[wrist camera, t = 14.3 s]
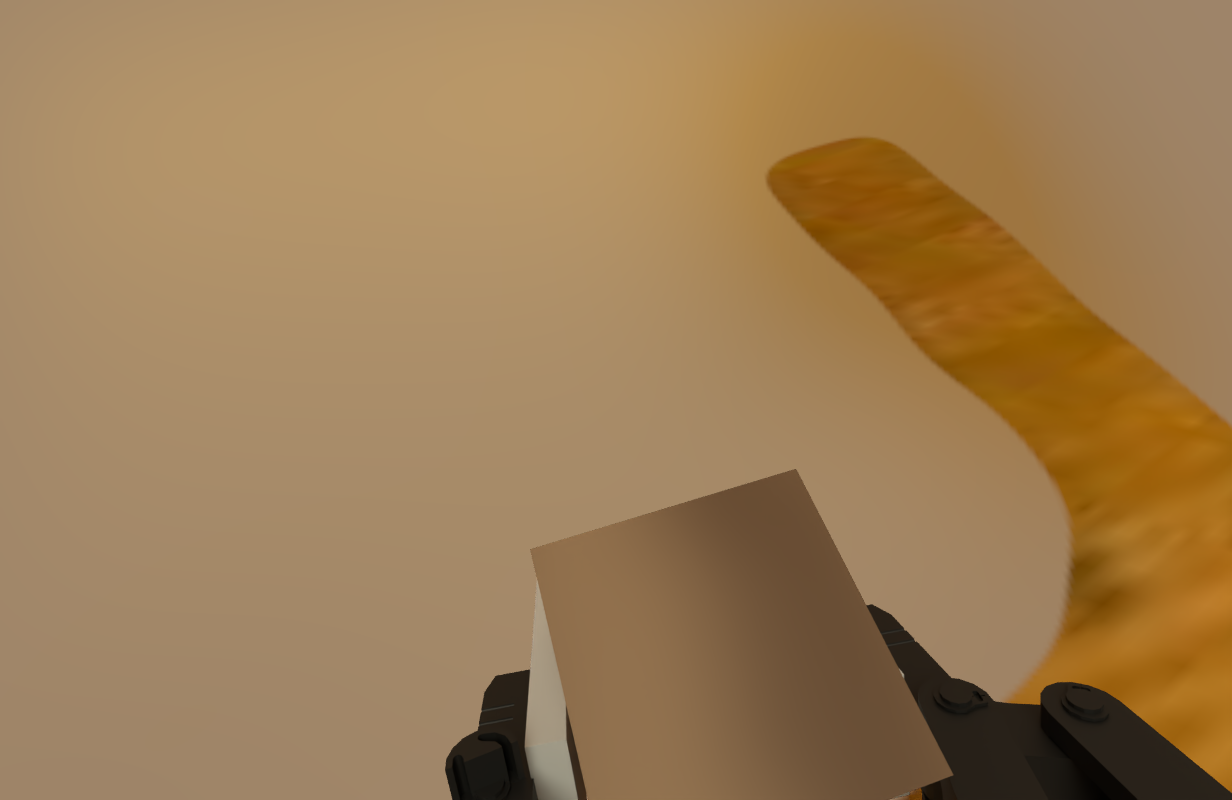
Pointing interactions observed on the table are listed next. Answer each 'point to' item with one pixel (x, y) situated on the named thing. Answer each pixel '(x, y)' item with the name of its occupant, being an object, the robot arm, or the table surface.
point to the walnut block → (728, 658)
